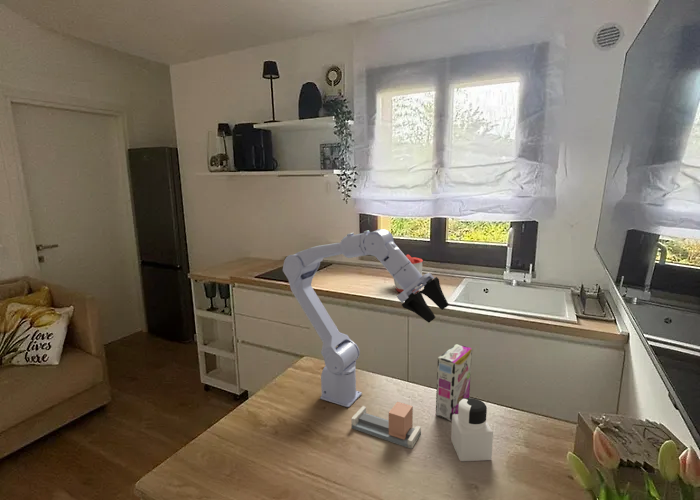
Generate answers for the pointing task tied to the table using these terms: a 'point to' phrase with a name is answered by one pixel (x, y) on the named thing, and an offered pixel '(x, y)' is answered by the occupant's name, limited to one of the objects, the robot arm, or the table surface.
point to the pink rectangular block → (400, 420)
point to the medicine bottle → (472, 431)
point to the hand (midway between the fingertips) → (439, 313)
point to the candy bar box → (453, 380)
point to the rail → (382, 428)
